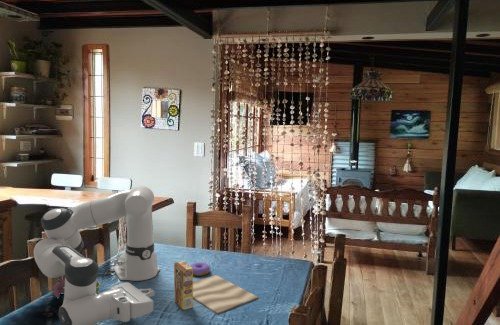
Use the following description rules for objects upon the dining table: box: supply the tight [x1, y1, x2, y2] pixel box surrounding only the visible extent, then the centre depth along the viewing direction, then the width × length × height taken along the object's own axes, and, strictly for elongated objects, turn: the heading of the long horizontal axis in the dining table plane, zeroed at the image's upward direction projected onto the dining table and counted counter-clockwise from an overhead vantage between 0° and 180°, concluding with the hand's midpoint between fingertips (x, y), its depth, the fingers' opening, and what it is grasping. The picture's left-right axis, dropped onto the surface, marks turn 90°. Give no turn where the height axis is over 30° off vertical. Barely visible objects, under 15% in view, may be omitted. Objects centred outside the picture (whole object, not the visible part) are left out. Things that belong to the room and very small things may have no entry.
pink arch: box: [52, 278, 65, 298], centre depth 150 cm, size 10×5×7 cm, turn 135°
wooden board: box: [193, 274, 259, 315], centre depth 154 cm, size 28×20×1 cm
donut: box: [190, 262, 211, 277], centre depth 175 cm, size 10×9×5 cm
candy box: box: [173, 260, 194, 311], centre depth 143 cm, size 9×4×15 cm, turn 33°
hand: (153, 291), depth 135 cm, fingers closed
